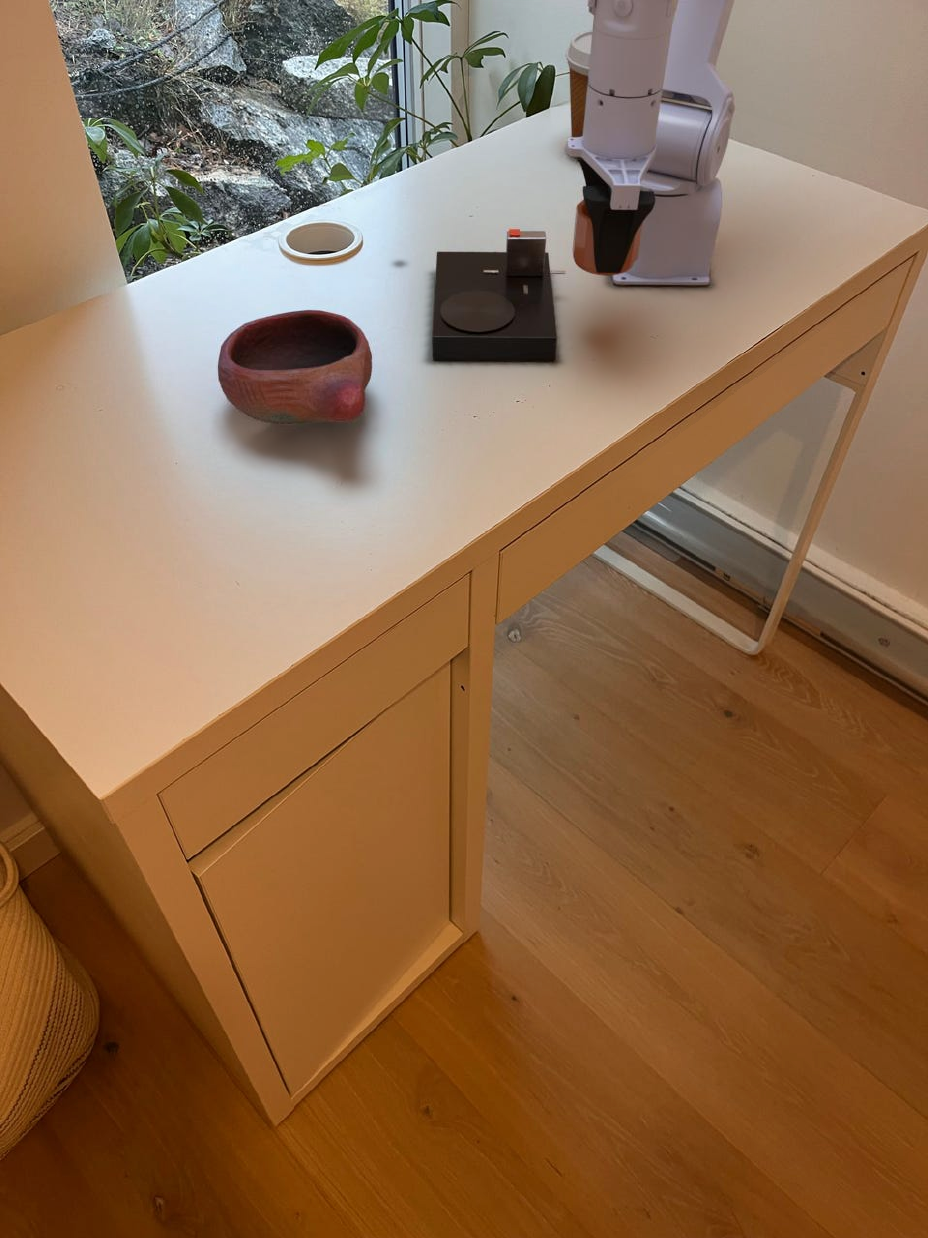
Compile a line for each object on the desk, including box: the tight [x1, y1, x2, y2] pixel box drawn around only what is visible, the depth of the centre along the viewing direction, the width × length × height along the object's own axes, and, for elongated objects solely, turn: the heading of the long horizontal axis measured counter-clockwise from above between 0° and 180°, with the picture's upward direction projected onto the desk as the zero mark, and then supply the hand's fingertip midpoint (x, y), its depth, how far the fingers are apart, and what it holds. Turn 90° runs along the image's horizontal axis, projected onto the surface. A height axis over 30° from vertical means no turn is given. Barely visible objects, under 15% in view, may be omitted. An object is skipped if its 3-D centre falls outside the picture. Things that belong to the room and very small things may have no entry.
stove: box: [431, 251, 566, 363], centre depth 92 cm, size 12×15×3 cm
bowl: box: [217, 309, 373, 425], centre depth 79 cm, size 16×13×8 cm
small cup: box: [572, 198, 643, 276], centre depth 83 cm, size 6×6×4 cm
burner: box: [440, 291, 515, 333], centre depth 88 cm, size 7×7×1 cm
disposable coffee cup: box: [565, 29, 593, 161], centre depth 111 cm, size 10×10×12 cm
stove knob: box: [505, 228, 547, 276], centre depth 91 cm, size 4×1×4 cm, turn 90°
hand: (604, 252), depth 84 cm, fingers closed on small cup, 5 cm apart
